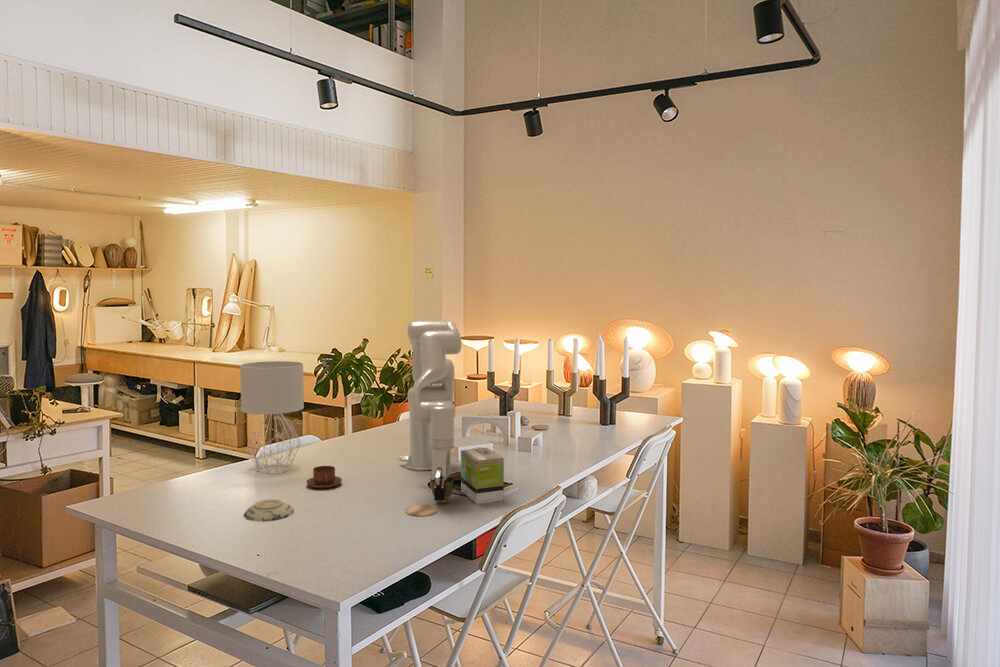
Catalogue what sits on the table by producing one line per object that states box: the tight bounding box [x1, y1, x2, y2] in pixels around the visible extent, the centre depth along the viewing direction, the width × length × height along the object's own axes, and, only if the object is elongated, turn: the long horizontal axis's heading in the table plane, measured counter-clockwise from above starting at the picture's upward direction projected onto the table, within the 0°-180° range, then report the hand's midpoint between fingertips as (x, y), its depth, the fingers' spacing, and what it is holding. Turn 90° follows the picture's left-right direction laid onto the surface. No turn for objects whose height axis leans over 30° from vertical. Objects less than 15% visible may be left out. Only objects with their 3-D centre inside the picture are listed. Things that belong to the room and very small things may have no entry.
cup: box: [430, 476, 455, 505], centre depth 227 cm, size 8×7×8 cm
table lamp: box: [239, 360, 305, 475], centre depth 265 cm, size 22×22×40 cm
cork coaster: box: [404, 503, 438, 517], centre depth 219 cm, size 10×10×1 cm
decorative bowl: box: [242, 498, 295, 523], centre depth 215 cm, size 15×4×15 cm
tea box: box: [460, 447, 505, 505], centre depth 233 cm, size 15×10×15 cm, turn 23°
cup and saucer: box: [306, 465, 343, 489], centre depth 246 cm, size 12×12×6 cm
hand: (442, 495), depth 227 cm, fingers open, 9 cm apart
